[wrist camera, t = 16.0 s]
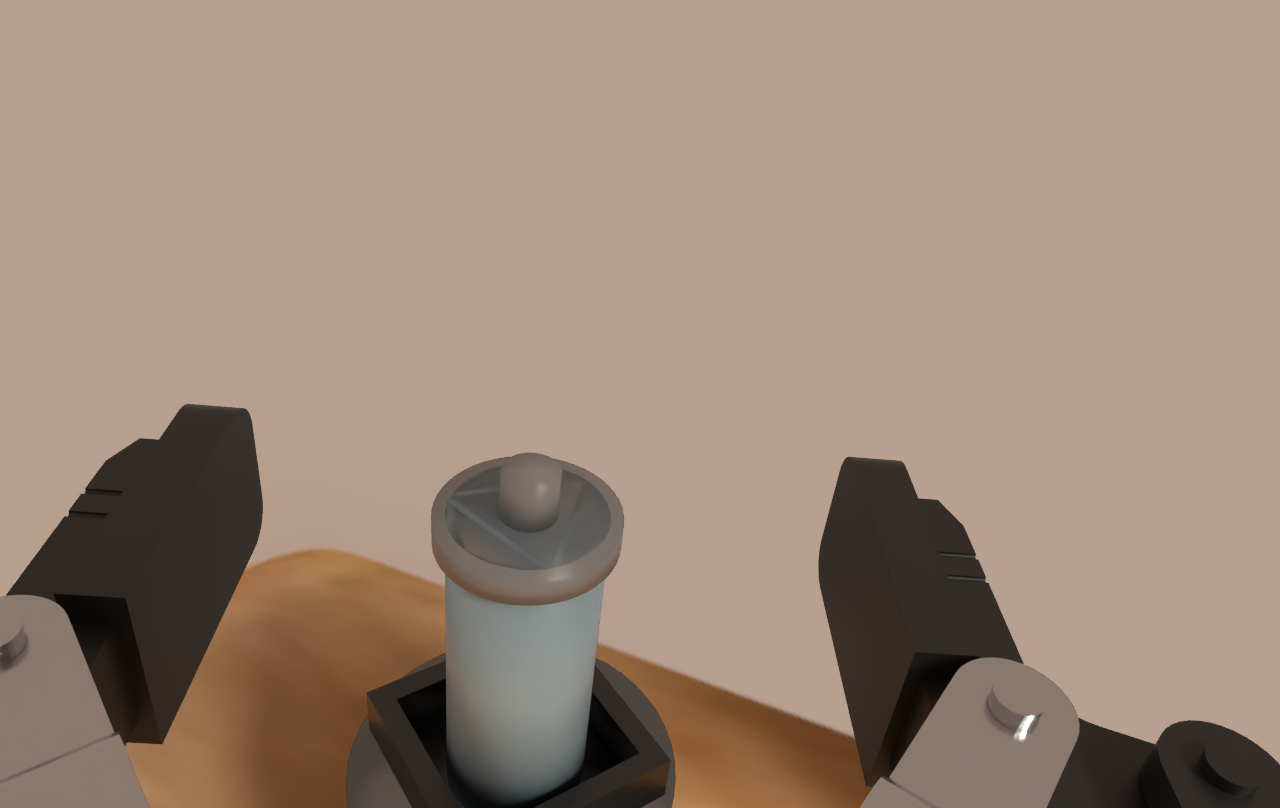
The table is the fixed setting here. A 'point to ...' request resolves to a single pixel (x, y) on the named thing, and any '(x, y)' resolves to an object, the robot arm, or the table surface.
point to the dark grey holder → (417, 757)
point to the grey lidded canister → (521, 623)
